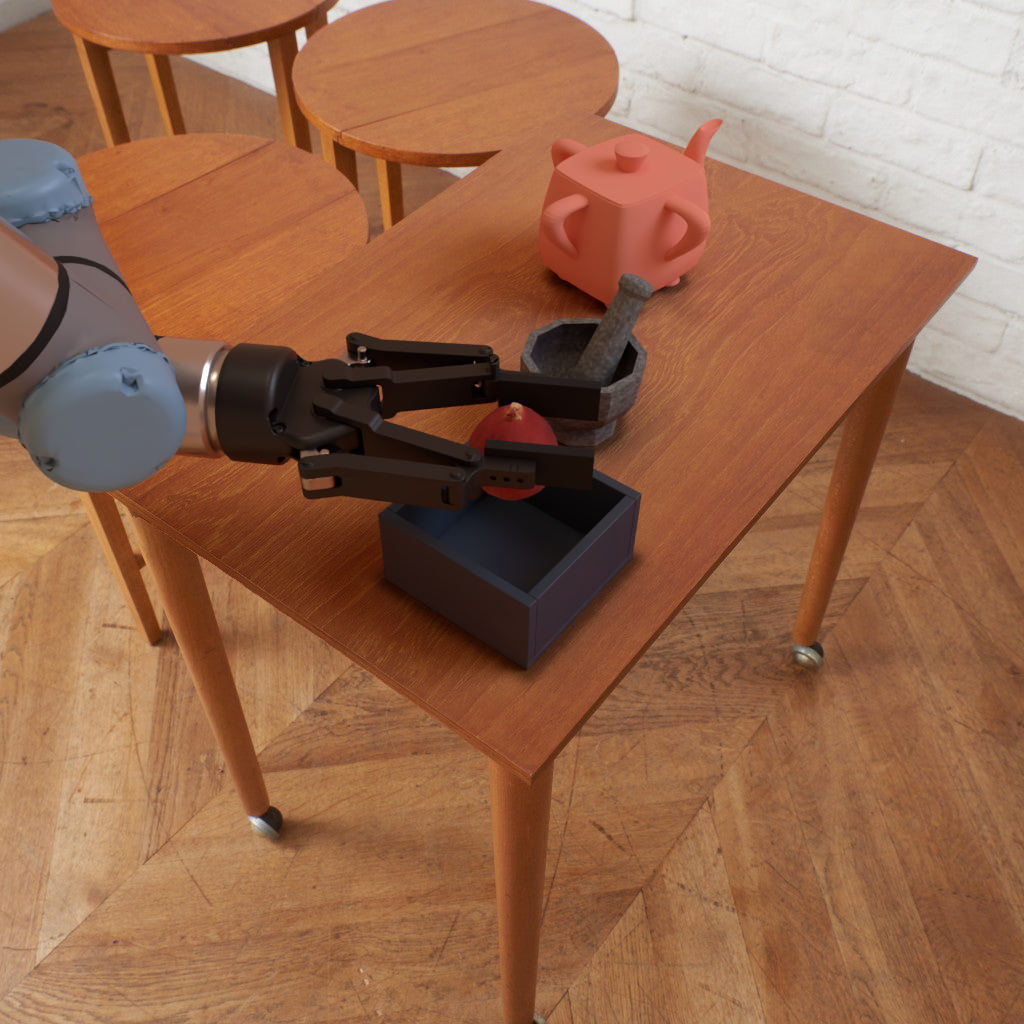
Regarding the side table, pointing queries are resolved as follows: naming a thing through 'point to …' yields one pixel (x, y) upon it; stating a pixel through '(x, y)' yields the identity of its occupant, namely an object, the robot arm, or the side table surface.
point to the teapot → (625, 211)
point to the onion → (512, 439)
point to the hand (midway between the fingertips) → (595, 434)
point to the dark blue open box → (513, 560)
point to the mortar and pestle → (594, 360)
